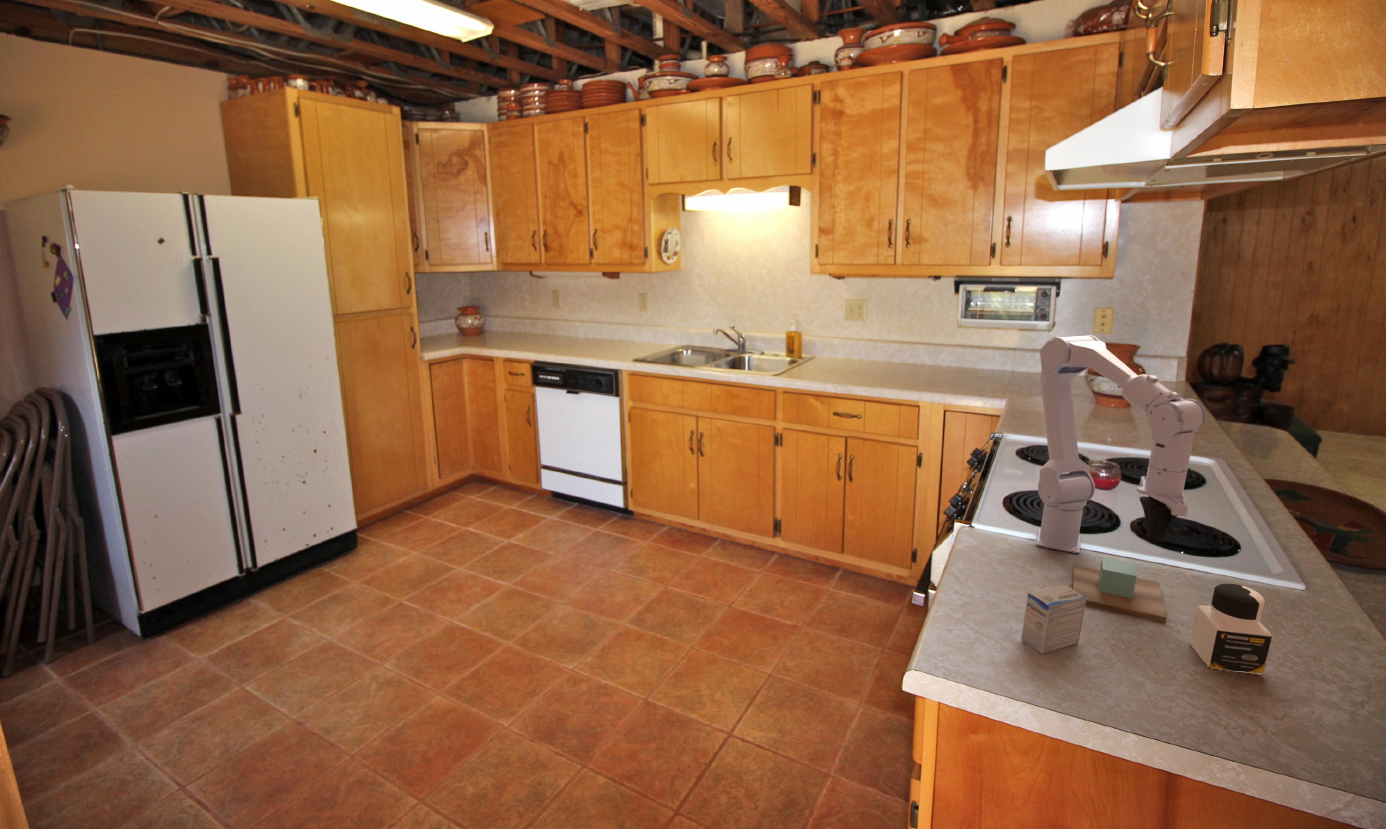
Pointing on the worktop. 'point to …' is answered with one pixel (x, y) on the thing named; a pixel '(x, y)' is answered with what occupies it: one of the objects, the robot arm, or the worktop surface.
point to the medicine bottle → (1232, 630)
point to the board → (1142, 604)
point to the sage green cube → (1117, 578)
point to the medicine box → (1053, 618)
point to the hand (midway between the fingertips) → (1154, 537)
